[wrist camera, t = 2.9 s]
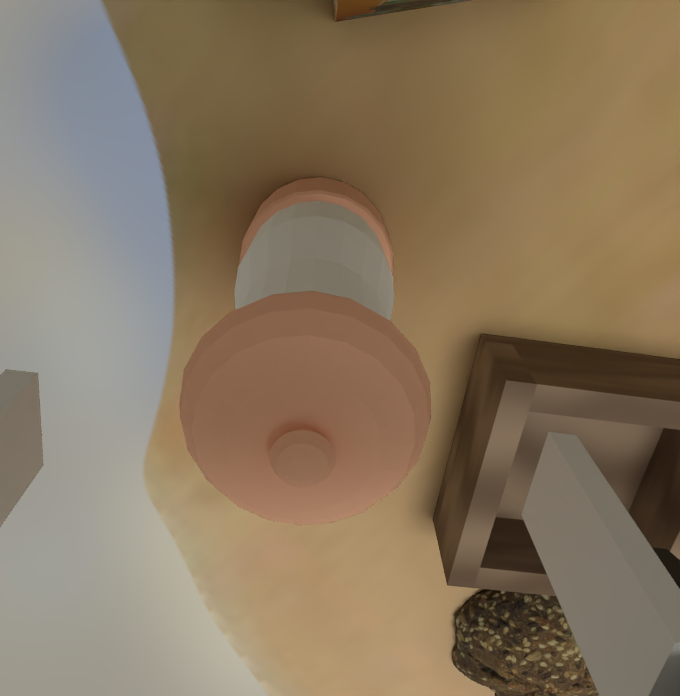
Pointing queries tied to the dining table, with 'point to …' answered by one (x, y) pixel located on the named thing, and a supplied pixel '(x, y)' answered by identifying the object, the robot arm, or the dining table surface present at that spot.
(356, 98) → the dining table surface
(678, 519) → the square wooden tray
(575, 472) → the robot arm
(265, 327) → the pepper shaker
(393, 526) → the dining table surface
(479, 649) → the bread roll
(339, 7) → the milk carton
